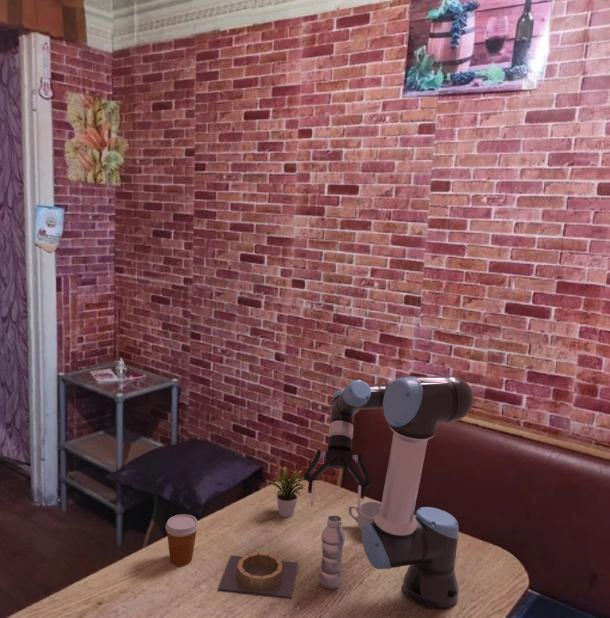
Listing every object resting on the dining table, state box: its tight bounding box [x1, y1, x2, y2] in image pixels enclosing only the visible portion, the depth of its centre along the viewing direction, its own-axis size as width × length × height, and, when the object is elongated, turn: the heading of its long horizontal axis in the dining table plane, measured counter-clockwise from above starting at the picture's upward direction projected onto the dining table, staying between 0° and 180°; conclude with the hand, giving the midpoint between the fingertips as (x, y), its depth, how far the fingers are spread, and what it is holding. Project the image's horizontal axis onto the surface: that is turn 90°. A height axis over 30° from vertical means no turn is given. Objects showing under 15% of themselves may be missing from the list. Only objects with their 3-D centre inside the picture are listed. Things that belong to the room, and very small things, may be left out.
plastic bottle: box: [318, 514, 346, 590], centre depth 165 cm, size 6×7×20 cm
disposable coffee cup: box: [164, 514, 200, 567], centre depth 173 cm, size 10×10×12 cm
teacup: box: [348, 500, 382, 531], centre depth 196 cm, size 14×11×8 cm
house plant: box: [269, 465, 308, 518], centre depth 202 cm, size 14×14×16 cm
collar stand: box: [217, 552, 299, 600], centre depth 168 cm, size 20×16×4 cm
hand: (335, 506), depth 173 cm, fingers open, 13 cm apart
